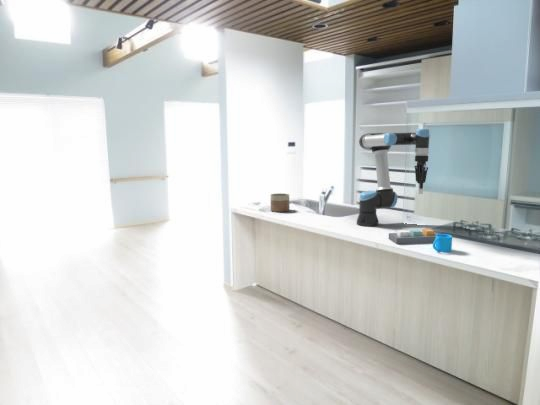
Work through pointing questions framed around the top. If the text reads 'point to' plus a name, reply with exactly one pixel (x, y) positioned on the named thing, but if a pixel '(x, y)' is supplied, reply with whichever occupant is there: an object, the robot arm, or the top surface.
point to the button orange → (428, 232)
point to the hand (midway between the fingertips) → (419, 193)
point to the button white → (402, 233)
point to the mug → (443, 243)
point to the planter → (280, 202)
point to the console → (412, 238)
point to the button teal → (415, 232)
